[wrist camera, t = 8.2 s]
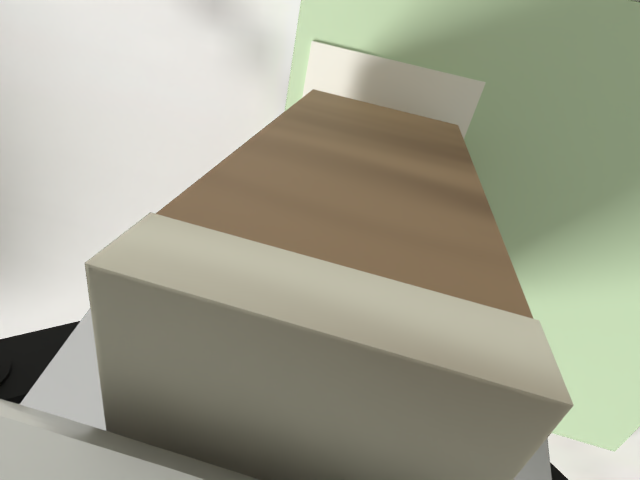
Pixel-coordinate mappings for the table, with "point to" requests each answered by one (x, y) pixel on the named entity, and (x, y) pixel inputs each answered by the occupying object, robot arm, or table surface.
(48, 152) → the table surface
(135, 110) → the table surface
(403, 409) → the walnut slab
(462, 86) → the green mat
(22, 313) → the table surface
